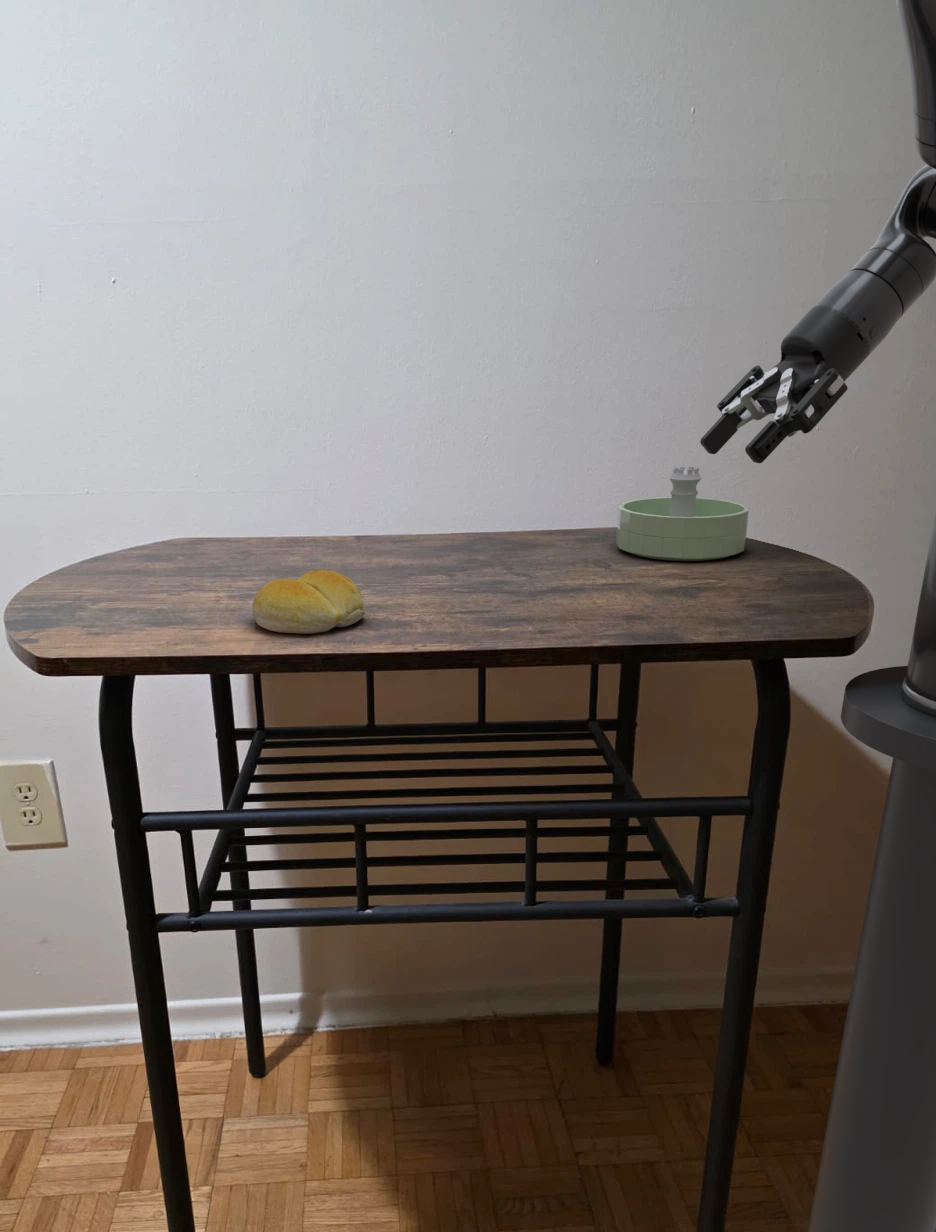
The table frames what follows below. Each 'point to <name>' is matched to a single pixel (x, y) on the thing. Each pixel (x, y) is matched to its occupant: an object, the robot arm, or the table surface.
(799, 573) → the table surface
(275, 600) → the bread roll
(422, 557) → the table surface
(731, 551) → the bowl
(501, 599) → the table surface
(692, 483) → the rook chess piece
